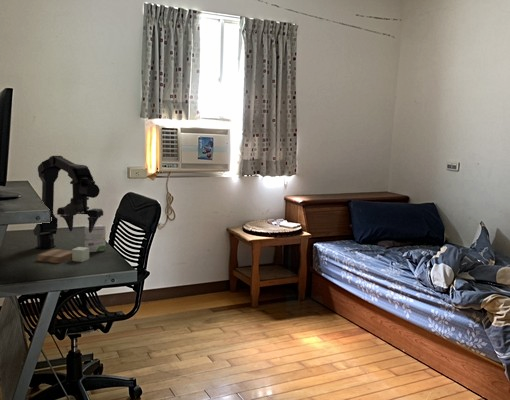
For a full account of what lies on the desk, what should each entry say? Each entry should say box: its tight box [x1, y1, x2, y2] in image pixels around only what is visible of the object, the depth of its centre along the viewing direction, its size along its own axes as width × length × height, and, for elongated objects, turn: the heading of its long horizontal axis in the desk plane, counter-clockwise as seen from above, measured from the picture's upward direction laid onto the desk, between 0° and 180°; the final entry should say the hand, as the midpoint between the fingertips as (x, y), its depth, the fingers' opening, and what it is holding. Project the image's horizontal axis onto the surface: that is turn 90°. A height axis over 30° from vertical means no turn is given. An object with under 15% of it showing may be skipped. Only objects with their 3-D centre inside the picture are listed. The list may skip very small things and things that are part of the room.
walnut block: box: [37, 248, 72, 264], centre depth 209 cm, size 11×11×3 cm
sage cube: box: [71, 246, 90, 263], centre depth 209 cm, size 5×5×5 cm
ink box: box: [84, 224, 107, 253], centre depth 225 cm, size 8×5×12 cm, turn 119°
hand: (80, 231), depth 208 cm, fingers open, 9 cm apart
